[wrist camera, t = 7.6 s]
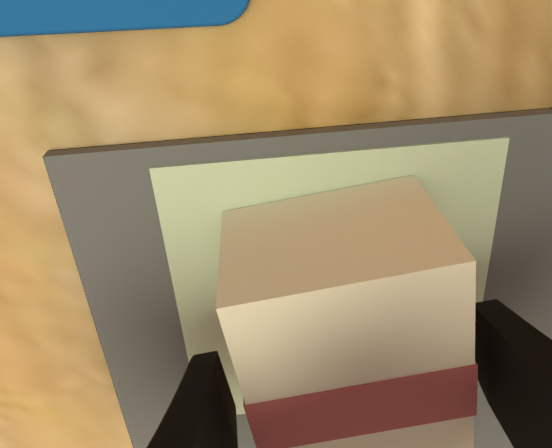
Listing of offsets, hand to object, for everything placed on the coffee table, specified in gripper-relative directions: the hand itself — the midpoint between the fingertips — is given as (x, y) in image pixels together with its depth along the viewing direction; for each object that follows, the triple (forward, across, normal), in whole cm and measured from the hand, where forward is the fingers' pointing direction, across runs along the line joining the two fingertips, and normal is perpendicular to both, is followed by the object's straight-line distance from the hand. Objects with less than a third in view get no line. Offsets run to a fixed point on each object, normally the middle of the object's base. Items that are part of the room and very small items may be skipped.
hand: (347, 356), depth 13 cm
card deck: (+2, 0, 0) cm, 2 cm away
